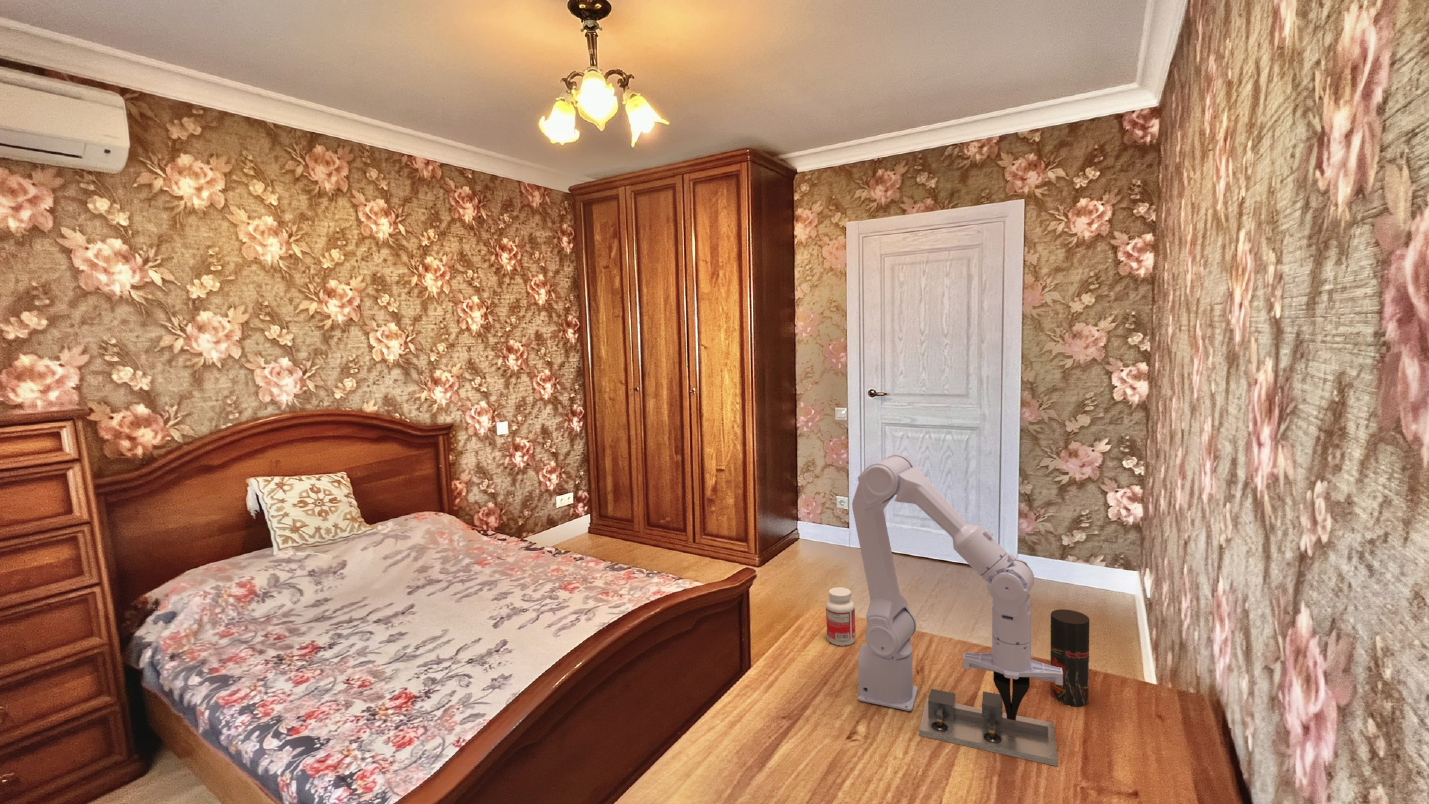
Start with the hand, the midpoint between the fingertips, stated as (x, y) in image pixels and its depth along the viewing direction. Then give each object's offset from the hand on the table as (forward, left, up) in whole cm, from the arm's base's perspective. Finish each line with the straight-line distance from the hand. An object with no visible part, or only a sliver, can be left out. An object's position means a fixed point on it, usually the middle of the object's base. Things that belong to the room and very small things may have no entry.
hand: (1011, 716), depth 101 cm
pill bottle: (-34, +22, -3) cm, 40 cm away
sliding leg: (-3, -1, -2) cm, 3 cm away
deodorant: (+9, +15, -3) cm, 18 cm away
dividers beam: (-4, -1, -2) cm, 4 cm away
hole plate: (-4, -1, -3) cm, 5 cm away
